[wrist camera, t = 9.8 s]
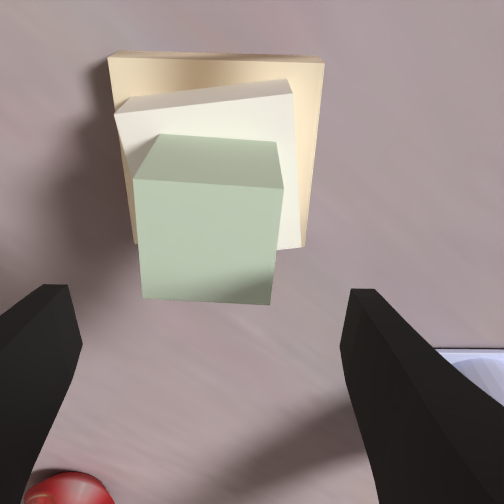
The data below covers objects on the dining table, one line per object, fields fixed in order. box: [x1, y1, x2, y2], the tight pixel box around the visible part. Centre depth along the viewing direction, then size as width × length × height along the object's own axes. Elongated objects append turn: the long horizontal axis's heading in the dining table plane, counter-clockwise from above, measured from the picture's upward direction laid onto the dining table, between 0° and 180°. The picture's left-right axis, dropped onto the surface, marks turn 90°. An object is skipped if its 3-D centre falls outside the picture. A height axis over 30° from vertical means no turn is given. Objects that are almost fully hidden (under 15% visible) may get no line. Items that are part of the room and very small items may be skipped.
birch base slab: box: [107, 51, 325, 246], centre depth 19 cm, size 8×8×2 cm
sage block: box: [133, 134, 284, 305], centre depth 14 cm, size 4×4×4 cm
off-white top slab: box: [114, 78, 301, 250], centre depth 17 cm, size 6×6×2 cm
